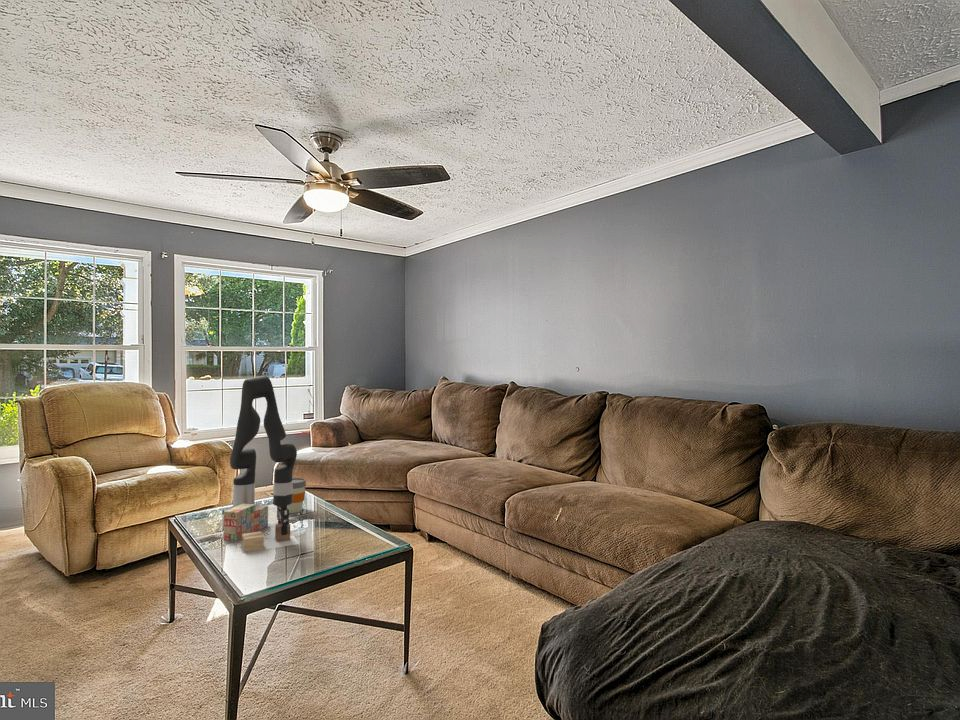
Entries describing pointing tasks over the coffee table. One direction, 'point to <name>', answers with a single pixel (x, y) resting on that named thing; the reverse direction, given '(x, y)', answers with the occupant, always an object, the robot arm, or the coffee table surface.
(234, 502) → the robot arm
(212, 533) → the coffee table surface
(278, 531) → the walnut block
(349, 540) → the coffee table surface
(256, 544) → the oak block
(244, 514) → the stack of blocks
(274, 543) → the white board
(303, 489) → the reusable coffee cup
